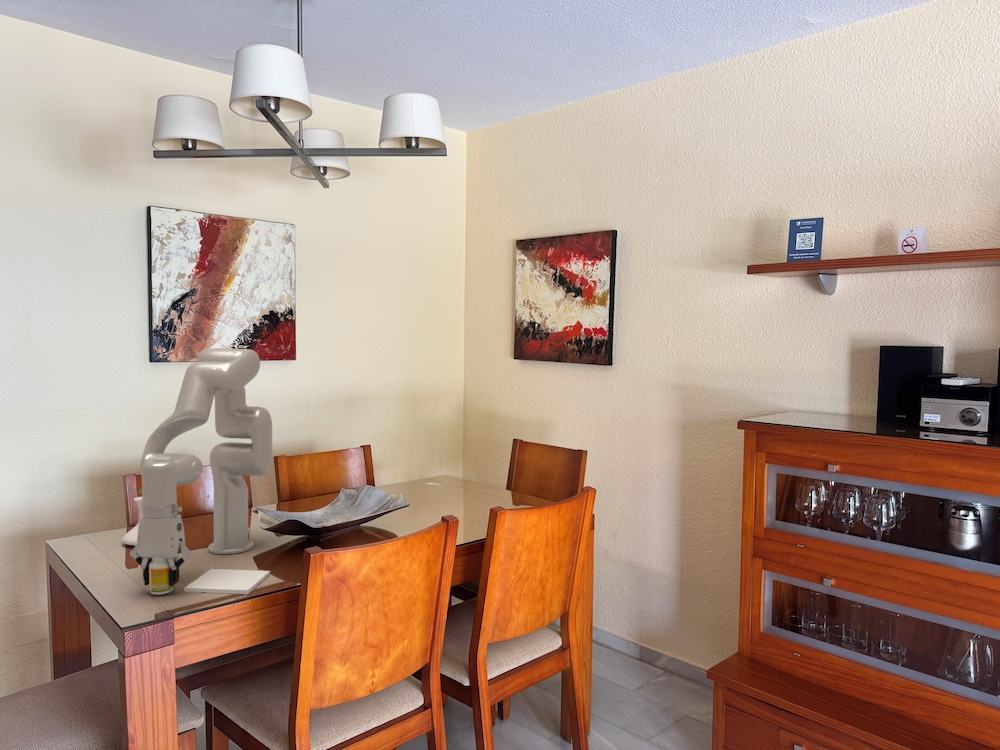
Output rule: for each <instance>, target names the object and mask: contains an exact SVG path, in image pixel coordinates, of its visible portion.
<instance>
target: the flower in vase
mask: <svg viewBox="0 0 1000 750" xmlns="http://www.w3.org/2000/svg"><path fill="white" fill-rule="evenodd" d="M137 493H138V494H142V487H141V488H139V490H138V492H137ZM133 500H134V502H135V503H136V505H137V508H138V522H137V523H136V525H134V527H132V528H131V529H130V530H128V532H126V534H124V535H123V537H122V539H121V541H122V542H123V544H124V545H125V544H126V545H129V546H134V547H135V546H136V545H137V536H138V527H139V522H140V518H141V517H142V516H143V505H142V496H137V497H135V498H133Z"/></svg>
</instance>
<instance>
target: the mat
mask: <svg viewBox="0 0 1000 750" xmlns="http://www.w3.org/2000/svg"><path fill="white" fill-rule="evenodd" d="M268 575H269V576H270V575H271V571H270V570H251V569H249V570H247V569H220V568H210V569H209V570H208V571H206V572H205V573H204V574H202V575H200V576H199V577H198V578H196V579H195V580H194V581H192V582H191V583H189V584H188V585H187V586H185V587H184V590H183V592H184V593H201V592H206V593H207V594H229V593H230V594H233V595H249V594H251V592H252V591H254V590H255V589H256V588H257V587H258V586H259V585H260V584H261V583H262V582H264V581H265V580H266V579H265V578H266V577H267V576H268ZM269 576H268V577H269ZM268 577H267V578H268ZM264 579H265V580H264ZM260 582H261V583H260ZM259 583H260V584H259ZM258 584H259V585H258ZM257 585H258V586H257ZM256 586H257V587H256ZM255 587H256V588H255Z"/></svg>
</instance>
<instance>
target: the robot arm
mask: <svg viewBox="0 0 1000 750" xmlns="http://www.w3.org/2000/svg"><path fill="white" fill-rule="evenodd" d="M196 361H197V362H193V363H191V364H189V366H188V367H187V368H186V369H185V373H184V376H183V379H182V383H181V386H180V390H179V393H178V397H177V401H176V403H175V408H174V411H173V413H172V414H171V415H170V416H169V417H167V418H166V419H165V420H164V421H162V422H161V423H160V424H159V425H158V426H157V427H156V429H155V430H154V431H152V433H151V434H150V436H149V437H148V439H147V441H146V443H145V446H144V449H143V453H142V457H141V461H140V466H139V472H140V475H141V488H142V493H141V497H142V505H143V516H142V517H141V518H140V522H139V521H138V522H139V527H138V536H137V545H136V546H134V547H133V549H132V550H130V552H129V555H130V556H131V558H133V559H134V560H135V561H136V562H137V564H138V565H139V566H140V569H141V570H142V575H143V577H142V578H143V584H144V586H149V564H150V563H151V562H152V561H153V560H152V558H155V557H158V558H165V559H168V562H169V564H170V567H171V570H169V586H173V585H176V584H178V583H179V580H180V567H181V566H182V565H183V564H184V563H185V562H186V560H188V559H189V558H190V557H191V556H192V555H193V553H192V551H191V550H190V549H189V547H187V545H186V536H185V528H184V527H185V526H184V523H183V520H182V519H183V518H182V515H181V514H178V513H182V511H183V507H182V506H178V505H179V504H178V499H177V497H178V495H177V493H178V492H177V491H178V489H177V488H178V486H183V485H189V484H192V483H194V482H196V481H197V480H198V479H199V478H200V477H201V474H202V472H203V463H202V461H201V459H200V458H199V457H197V456H196V455H194V454H190V453H189V454H188V453H187V454H186V453H169V452H168V453H166V452H165V450H166V448H167V447H168V445H170V443H172V441H173V440H174V439H176V438H177V437H178V436H180V435H182V434H185V433H186V432H189V431H191V430H194V429H196V428H199V427H201V426H203V425H205V424H207V422H208V421H209V417H210V413H211V410H212V405H213V402H214V423H215V425H214V427H215V432H216V434H217V435H218V436H219V437H221V438H225V439H241V440H242V439H244V440H247V439H248V440H250V441H251V442H235V441H234V442H233V441H232V442H229V441H228V442H222V443H219V444H216V445H215V446H213V448H212V449H211V451H210V453H209V464H210V469H211V473H212V481H213V542H211V543H210V544H209V545H208V546H207V547H208V548H207V550H208V551H209V552H210V553H212V554H215V555H232V554H240V553H244V552H248V551H250V550H251V549H253V548H254V547H255V546H254V544H255V542H254V541H253V540H251V539H249V534H251V532H252V528H251V527H249V488H248V485H247V482H246V481H245V479H244V478H243V476H246V477H247V476H250V477H251V476H252V477H255V476H256V477H257V476H258V477H259V476H265V475H266V474H268V473H270V470H271V469H272V465H273V421H272V415H271V414H270V412H269V411H268V409H267V408H265V407H262V406H249V405H247V400H246V396H247V395H246V389H245V386H246V385H248V384H249V383H250V382H251V381H252V380H254V378H256V376H257V375H258V373H259V371H260V368H261V360H260V356H259V354H258V353H257V352H256V351H255V350H254V349H249V348H227V347H226V348H225V347H224V348H219V347H218V348H216V347H215V348H213V347H212V348H206V349H203V350H201V351H199V352H198V354H197V356H196ZM180 554H182V556H181V557H180Z"/></svg>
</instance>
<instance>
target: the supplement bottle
mask: <svg viewBox="0 0 1000 750" xmlns="http://www.w3.org/2000/svg"><path fill="white" fill-rule="evenodd" d="M152 560H153V561H152V562H151V563H150V564H149V585H148V587H149V593H150V594H151V595H156V596H157V595H165V594H168V593H171V592H172V591H173V590H174V587H175V586H174V585H173V586H169V570H171V567H170V564H169V562H168V559H165V558H158V557H155V558H152Z"/></svg>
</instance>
